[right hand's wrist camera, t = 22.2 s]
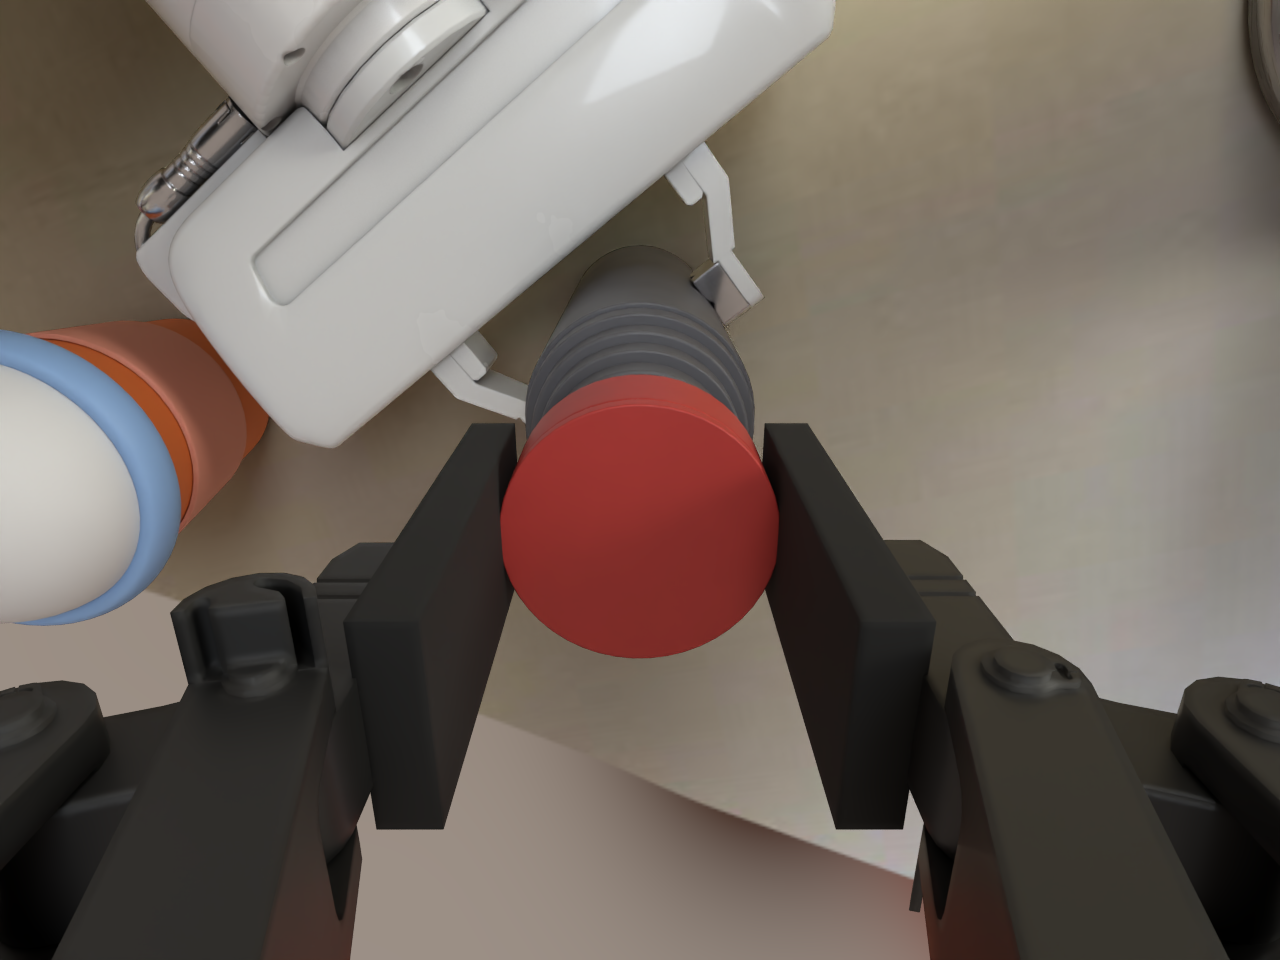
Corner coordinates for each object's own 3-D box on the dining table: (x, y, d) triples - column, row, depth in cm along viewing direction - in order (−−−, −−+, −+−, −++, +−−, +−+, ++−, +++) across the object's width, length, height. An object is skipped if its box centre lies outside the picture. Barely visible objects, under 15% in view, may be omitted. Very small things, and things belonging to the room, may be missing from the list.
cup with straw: (100, 486, 34) (-432, 801, 17) (62, 268, 30) (-648, 393, 14) (314, 503, 34) (0, 830, 17) (300, 290, 31) (-107, 439, 14)
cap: (777, 379, 14) (797, 411, 12) (750, 606, 15) (764, 665, 13) (514, 366, 13) (495, 397, 12) (516, 596, 15) (500, 653, 13)
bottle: (736, 319, 31) (867, 527, 13) (636, 409, 33) (632, 707, 15) (643, 214, 30) (648, 288, 12) (542, 313, 31) (410, 513, 13)
